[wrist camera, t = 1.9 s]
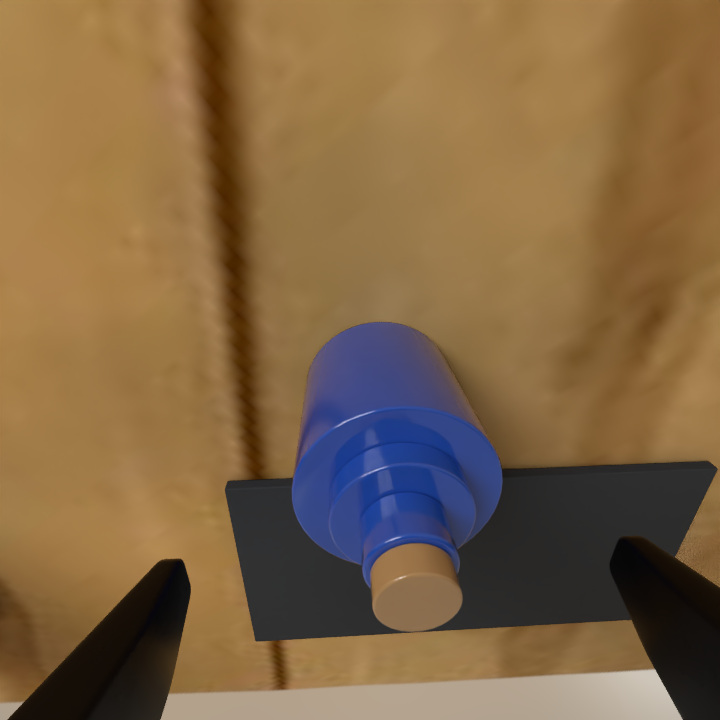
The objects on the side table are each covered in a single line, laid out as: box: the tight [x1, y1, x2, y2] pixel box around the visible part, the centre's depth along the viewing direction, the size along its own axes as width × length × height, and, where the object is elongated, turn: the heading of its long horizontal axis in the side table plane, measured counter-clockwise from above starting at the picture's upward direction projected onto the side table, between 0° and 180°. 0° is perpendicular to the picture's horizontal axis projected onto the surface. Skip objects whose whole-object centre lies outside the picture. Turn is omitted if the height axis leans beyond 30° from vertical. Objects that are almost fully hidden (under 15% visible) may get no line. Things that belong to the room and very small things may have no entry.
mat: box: [225, 461, 717, 641], centre depth 19 cm, size 20×10×1 cm, turn 90°
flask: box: [292, 322, 503, 632], centre depth 11 cm, size 5×5×8 cm
